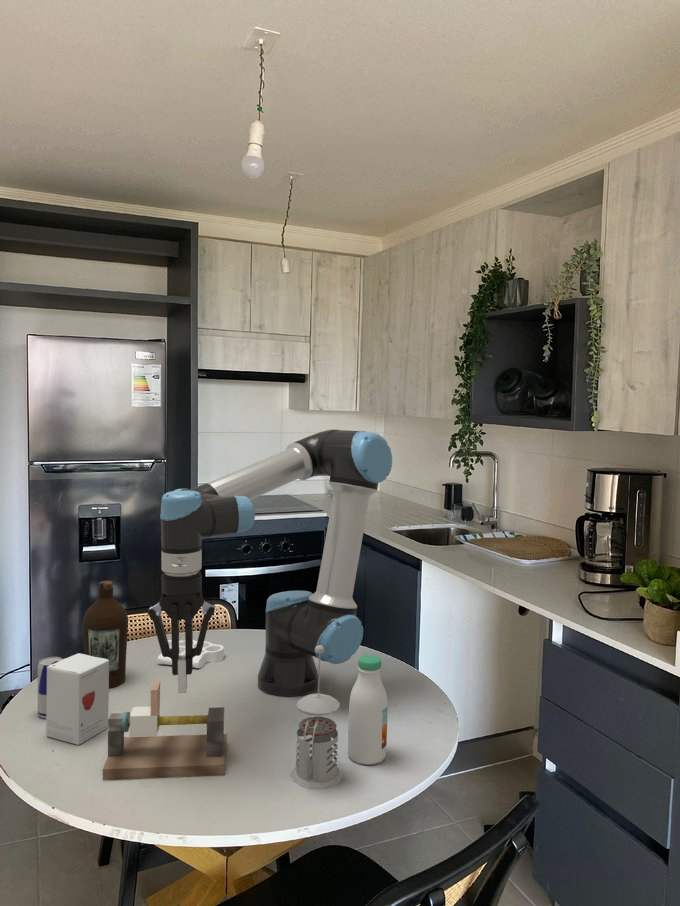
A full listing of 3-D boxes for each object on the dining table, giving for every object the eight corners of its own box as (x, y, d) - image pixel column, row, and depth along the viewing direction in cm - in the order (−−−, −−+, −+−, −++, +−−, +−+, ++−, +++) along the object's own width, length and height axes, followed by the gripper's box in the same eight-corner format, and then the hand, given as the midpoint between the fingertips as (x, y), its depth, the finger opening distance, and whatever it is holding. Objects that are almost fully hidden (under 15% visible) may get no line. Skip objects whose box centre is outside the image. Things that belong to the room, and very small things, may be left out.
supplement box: (78, 746, 137) (78, 673, 136) (44, 737, 140) (44, 666, 139) (110, 727, 145) (110, 658, 144) (77, 719, 148) (77, 651, 147)
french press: (347, 765, 132) (351, 639, 131) (333, 798, 121) (337, 661, 119) (298, 758, 135) (301, 634, 133) (280, 789, 123) (283, 655, 122)
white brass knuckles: (146, 665, 180) (171, 647, 195) (209, 673, 177) (230, 653, 191) (146, 653, 180) (171, 635, 194) (209, 660, 176) (230, 641, 191)
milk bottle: (374, 770, 131) (377, 668, 129) (340, 758, 135) (343, 659, 134) (392, 753, 137) (396, 656, 136) (359, 742, 141) (362, 648, 140)
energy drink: (54, 720, 147) (54, 666, 146) (32, 717, 148) (32, 664, 148) (69, 710, 153) (69, 657, 152) (47, 707, 154) (47, 655, 153)
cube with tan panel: (159, 726, 134) (160, 681, 133) (156, 735, 130) (157, 689, 129) (133, 726, 133) (133, 682, 132) (129, 736, 129) (130, 690, 128)
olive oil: (85, 674, 172) (85, 577, 171) (129, 672, 175) (130, 576, 173) (79, 692, 162) (79, 588, 160) (126, 689, 164) (126, 587, 163)
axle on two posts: (226, 743, 140) (227, 696, 139) (223, 774, 128) (224, 724, 127) (115, 747, 137) (116, 699, 136) (102, 779, 125) (102, 728, 124)
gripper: (143, 577, 126) (145, 700, 128) (215, 575, 128) (215, 696, 130) (149, 567, 134) (151, 683, 136) (216, 566, 136) (217, 680, 138)
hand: (182, 689), depth 133 cm, fingers closed
